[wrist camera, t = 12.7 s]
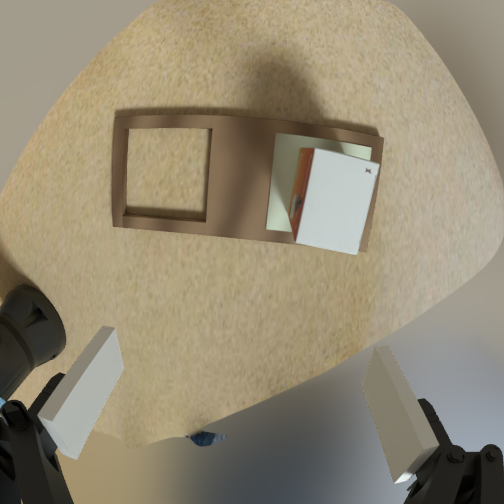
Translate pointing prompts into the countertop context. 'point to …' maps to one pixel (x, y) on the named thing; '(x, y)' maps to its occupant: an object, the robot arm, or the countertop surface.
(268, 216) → the board
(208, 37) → the countertop surface
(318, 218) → the small box
